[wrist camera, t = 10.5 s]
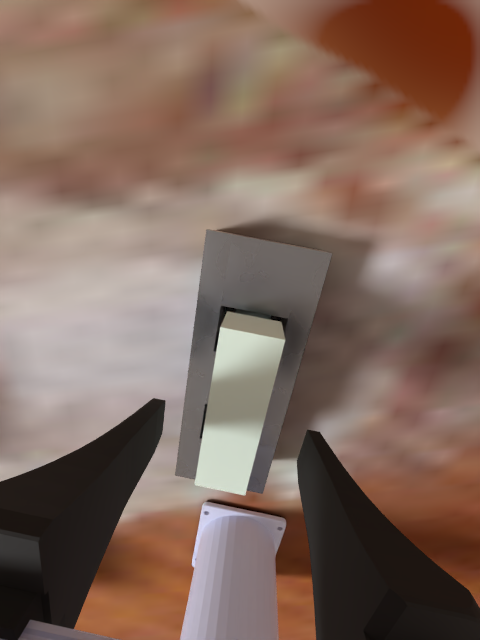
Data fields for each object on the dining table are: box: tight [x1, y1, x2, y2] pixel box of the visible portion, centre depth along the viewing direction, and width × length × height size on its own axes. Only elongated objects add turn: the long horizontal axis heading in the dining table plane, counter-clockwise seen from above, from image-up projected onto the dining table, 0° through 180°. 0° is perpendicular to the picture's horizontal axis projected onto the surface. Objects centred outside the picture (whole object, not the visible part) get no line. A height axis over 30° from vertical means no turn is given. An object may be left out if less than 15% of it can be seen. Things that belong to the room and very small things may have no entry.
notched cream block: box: [195, 309, 285, 495], centre depth 16 cm, size 10×3×6 cm, turn 170°
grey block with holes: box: [175, 229, 332, 494], centre depth 18 cm, size 18×7×3 cm, turn 170°
